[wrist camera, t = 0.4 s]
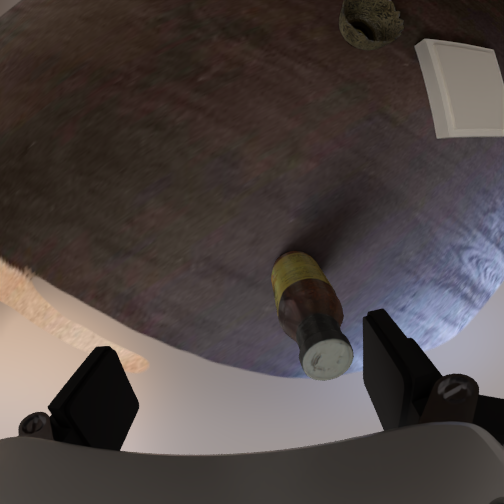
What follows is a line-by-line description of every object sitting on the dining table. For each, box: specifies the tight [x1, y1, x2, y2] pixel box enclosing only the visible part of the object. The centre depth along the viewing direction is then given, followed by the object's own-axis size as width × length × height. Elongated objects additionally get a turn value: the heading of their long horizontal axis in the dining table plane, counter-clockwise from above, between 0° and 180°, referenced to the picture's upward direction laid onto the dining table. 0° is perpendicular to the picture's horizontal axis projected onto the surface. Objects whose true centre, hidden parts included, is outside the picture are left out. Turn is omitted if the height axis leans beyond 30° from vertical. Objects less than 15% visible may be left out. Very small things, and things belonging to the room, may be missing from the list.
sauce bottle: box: [271, 251, 354, 381], centre depth 31 cm, size 6×6×20 cm
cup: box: [339, 0, 404, 50], centre depth 28 cm, size 8×7×8 cm
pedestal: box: [415, 39, 504, 139], centre depth 31 cm, size 14×14×4 cm
